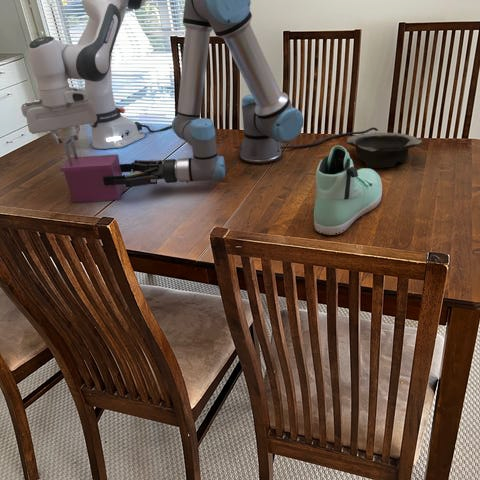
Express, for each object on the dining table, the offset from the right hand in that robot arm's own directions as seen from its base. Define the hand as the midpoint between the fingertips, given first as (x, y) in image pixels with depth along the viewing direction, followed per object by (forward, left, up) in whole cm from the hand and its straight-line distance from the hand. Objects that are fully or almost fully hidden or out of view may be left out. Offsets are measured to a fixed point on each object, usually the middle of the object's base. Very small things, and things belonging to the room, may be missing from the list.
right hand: (108, 174), depth 155 cm
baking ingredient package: (-16, -14, -7) cm, 22 cm away
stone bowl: (-90, +24, -7) cm, 93 cm away
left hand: (+9, -4, +12) cm, 16 cm away
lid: (+4, -2, +4) cm, 6 cm away
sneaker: (-59, +49, -7) cm, 77 cm away
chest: (+4, -2, -7) cm, 8 cm away
